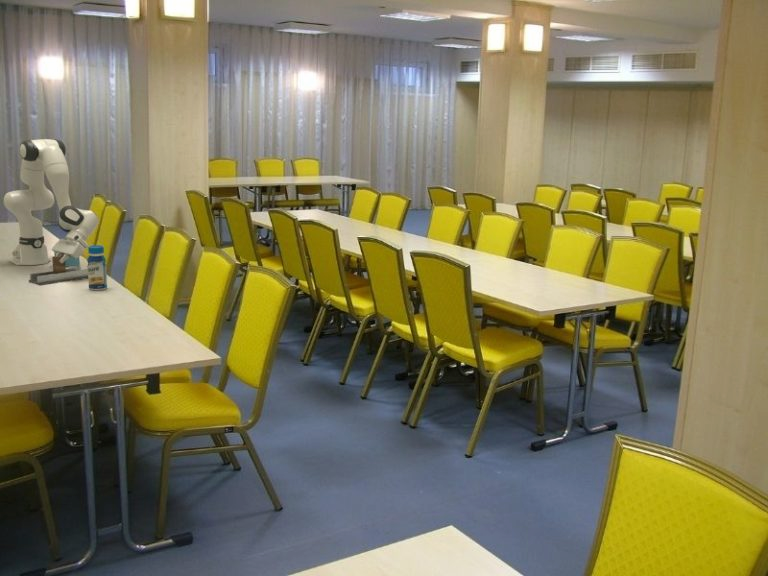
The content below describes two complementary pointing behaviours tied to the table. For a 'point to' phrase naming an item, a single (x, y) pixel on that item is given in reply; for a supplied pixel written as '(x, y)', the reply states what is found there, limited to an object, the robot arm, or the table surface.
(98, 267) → the beverage bottle
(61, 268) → the brown rectangular block
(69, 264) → the data package
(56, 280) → the rail
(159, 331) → the table surface
